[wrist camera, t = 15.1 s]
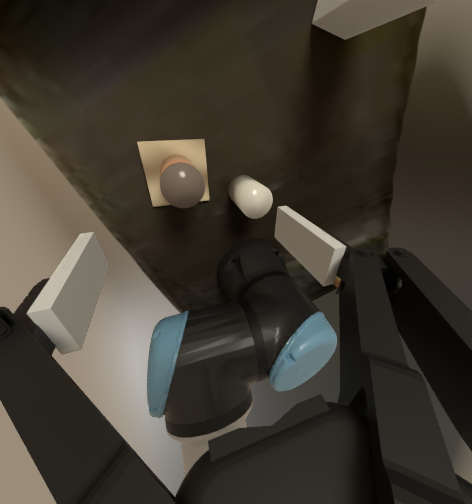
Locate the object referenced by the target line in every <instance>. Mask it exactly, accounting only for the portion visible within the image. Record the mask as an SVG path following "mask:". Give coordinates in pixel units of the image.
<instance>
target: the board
mask: <svg viewBox="0 0 472 504" xmlns="http://www.w3.org/2000/svg"><path fill="white" fill-rule="evenodd" d="M137 143H138V147H139V151H140V155H141V159H142V164H143V168H144V172H145V176H146V180H147V184H148V188H149V192H150V196H151V200H152V204H153V207H156V206H164V205H171V204H170V203H169V202H167V201H166V199H165V198H164V197H163V195H162V193H161V189H160V178H161V176H160V167H161V164H162V162H163V160H164V159H165V158H166V157H168V156H170V155H173V154H179V155H182V156H185V157H186V158H188V159H189V160H190V161H191V163H192V164H193V165H194V167H195V168H196V169H197V170H198V171H199V172H200V173H201V175H202V176H203V179H204V182H205V192H204V195H203V197H202V199H201V200H200V201H207V200H209V190H208V178H207V166H206V154H205V143H204V139H193V140H168V141H143V142H137Z"/></svg>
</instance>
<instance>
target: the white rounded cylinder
mask: <svg viewBox="0 0 472 504" xmlns="http://www.w3.org/2000/svg"><path fill="white" fill-rule="evenodd" d="M228 194H229V197H230V198H231V200H232V201H233V202H234V203H235V204H236V205H237V206H238V207H239V209H240V210H241V211H242V212H243V213H244V214H245V215H246V216H247V217H249V218H253V219H256V218H260V217H262V216H264V215H265V214H266V213H267V212H268V211H269V210H270V208H271V206H272V202H273V197H272V193H271V192H270V190H269V189H268V188H266V187H265V186H263V185H262V184H260V183H259V182H257V181H255V180H254V179H252V178H251V177H249V176H247V175H239V176H236V177H235V178H234V179H233V180H232V181H231V182H230V184H229V187H228Z"/></svg>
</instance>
